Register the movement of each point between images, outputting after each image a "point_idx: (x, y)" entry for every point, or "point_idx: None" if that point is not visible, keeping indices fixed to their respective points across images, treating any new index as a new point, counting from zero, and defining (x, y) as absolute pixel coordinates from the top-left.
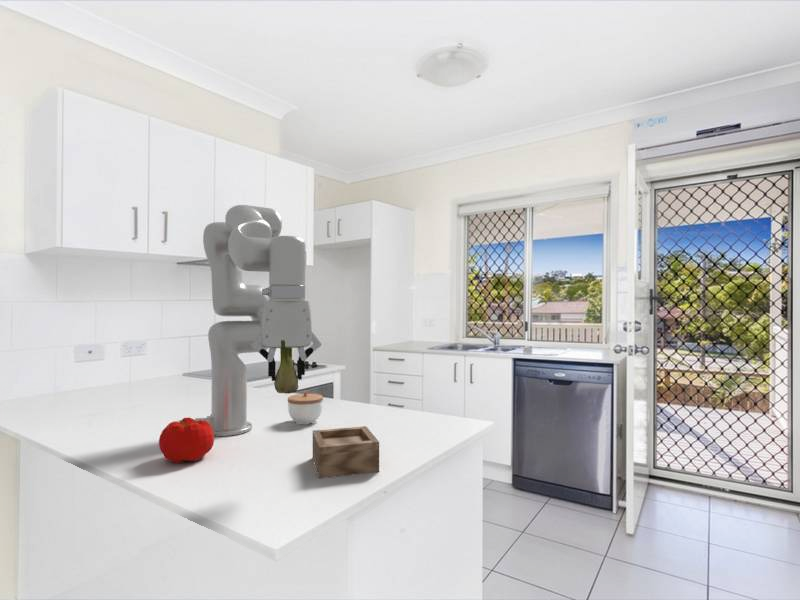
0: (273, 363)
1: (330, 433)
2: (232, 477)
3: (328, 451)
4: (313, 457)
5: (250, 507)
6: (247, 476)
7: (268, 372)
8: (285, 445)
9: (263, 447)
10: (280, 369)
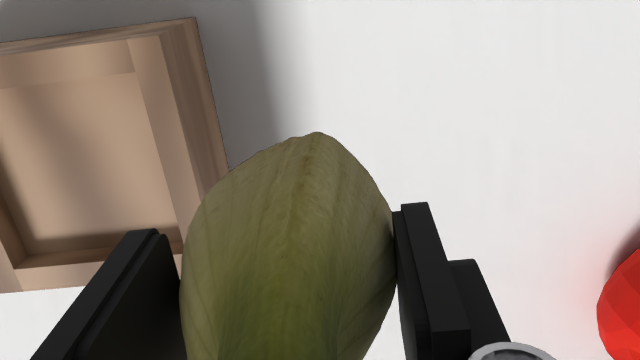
0: (444, 316)
1: None
2: (508, 85)
3: (126, 36)
4: None
5: None
6: (455, 85)
7: (481, 276)
8: None
9: None
10: (335, 217)
